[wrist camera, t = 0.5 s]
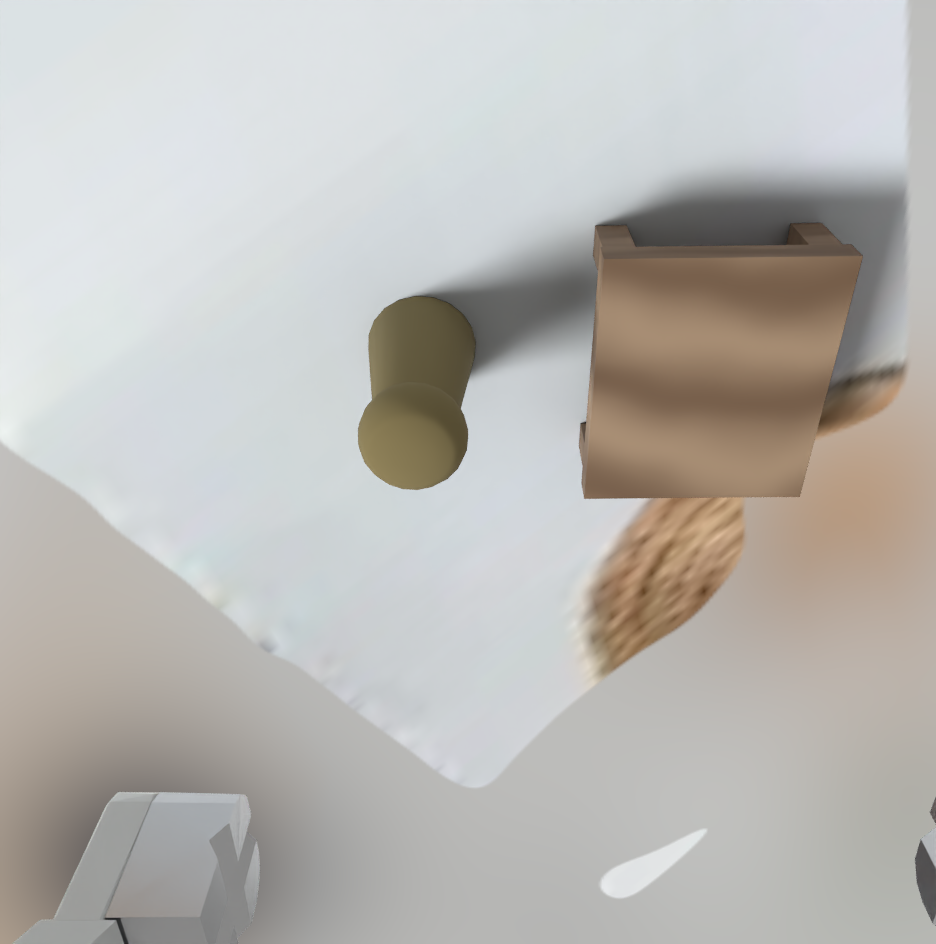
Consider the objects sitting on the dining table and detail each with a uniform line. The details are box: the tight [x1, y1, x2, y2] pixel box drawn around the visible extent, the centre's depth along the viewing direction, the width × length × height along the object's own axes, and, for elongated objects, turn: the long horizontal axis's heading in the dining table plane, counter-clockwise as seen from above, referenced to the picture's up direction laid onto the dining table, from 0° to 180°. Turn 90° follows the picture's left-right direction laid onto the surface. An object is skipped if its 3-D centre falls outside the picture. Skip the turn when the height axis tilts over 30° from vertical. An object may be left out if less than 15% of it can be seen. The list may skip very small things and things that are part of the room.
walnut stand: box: [579, 223, 863, 499], centre depth 46 cm, size 14×12×5 cm
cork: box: [358, 296, 476, 490], centre depth 44 cm, size 6×6×11 cm
